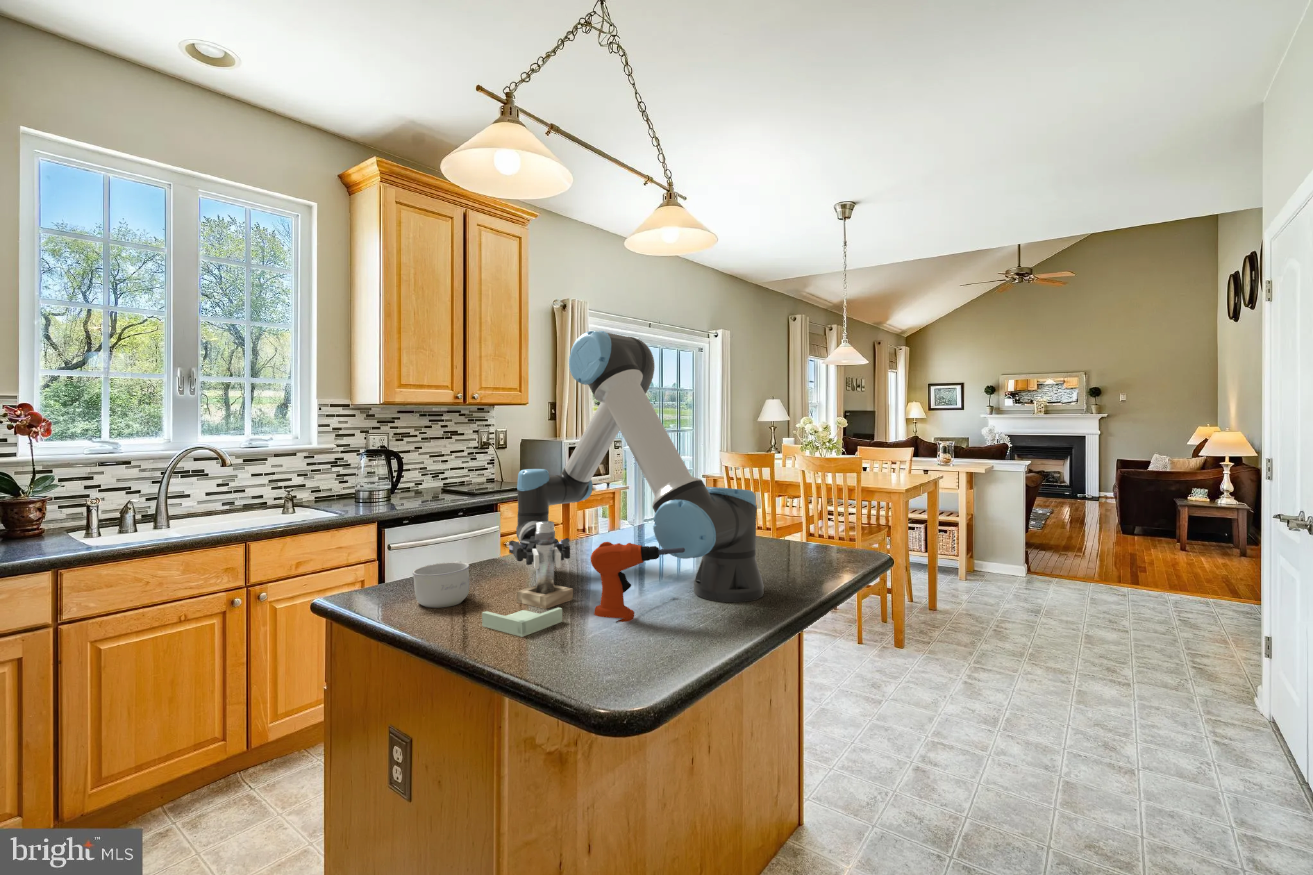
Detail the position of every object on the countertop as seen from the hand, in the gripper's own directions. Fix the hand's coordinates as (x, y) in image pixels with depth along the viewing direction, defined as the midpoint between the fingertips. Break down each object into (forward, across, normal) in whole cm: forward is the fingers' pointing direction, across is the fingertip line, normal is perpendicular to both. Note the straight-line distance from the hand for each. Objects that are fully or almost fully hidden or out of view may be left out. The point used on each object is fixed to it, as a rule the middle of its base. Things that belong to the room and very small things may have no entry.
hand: (548, 561), depth 121 cm
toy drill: (+9, -16, -10) cm, 21 cm away
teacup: (-11, +19, -10) cm, 25 cm away
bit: (-5, 0, -9) cm, 11 cm away
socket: (-5, 0, -10) cm, 11 cm away
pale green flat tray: (+8, +6, -10) cm, 14 cm away
